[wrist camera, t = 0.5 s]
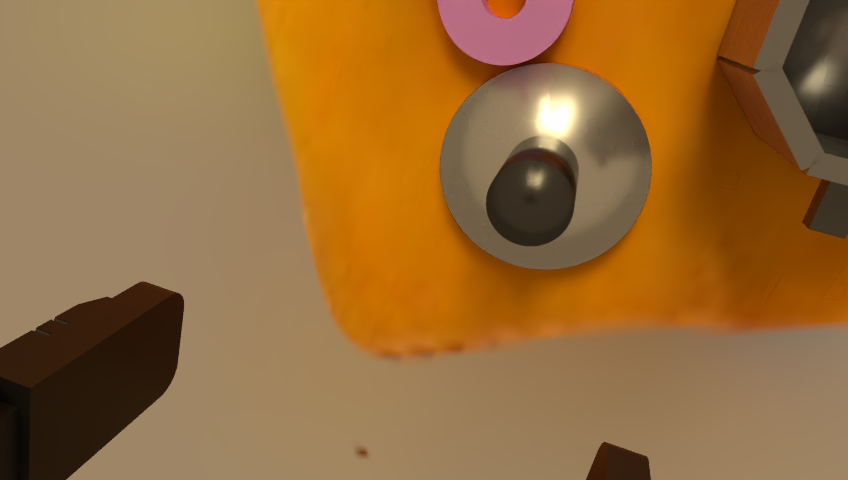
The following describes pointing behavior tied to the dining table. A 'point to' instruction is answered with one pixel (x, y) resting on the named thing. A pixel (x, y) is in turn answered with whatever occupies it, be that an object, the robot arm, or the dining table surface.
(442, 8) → the bracket
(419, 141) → the dining table surface
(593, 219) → the lid
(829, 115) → the pot
